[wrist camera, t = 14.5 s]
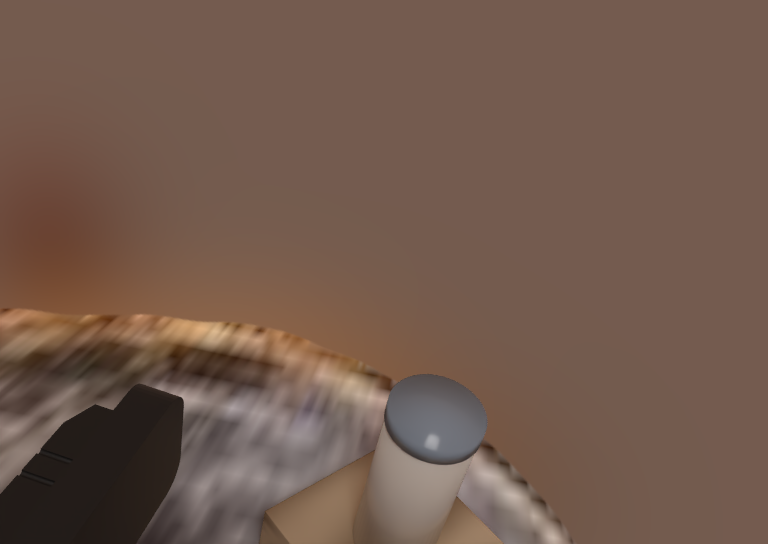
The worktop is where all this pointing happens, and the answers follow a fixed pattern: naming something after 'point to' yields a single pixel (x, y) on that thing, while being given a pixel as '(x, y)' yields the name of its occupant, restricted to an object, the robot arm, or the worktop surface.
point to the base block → (351, 513)
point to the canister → (419, 461)
